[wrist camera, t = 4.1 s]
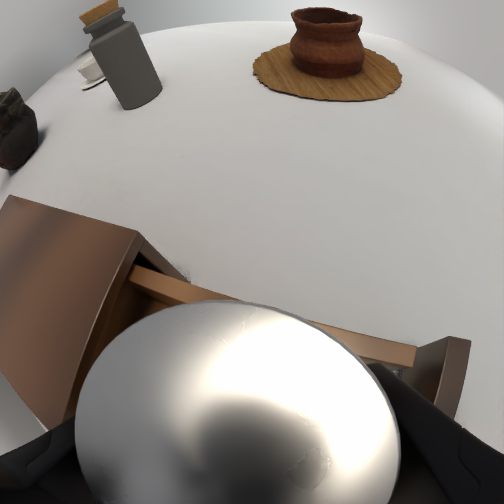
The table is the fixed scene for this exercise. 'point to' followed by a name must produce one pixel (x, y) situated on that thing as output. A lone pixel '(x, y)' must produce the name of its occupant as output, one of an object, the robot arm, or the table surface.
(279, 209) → the table surface
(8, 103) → the coffee grinder
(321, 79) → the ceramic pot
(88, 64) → the teacup
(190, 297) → the drawer
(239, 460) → the green tea canister
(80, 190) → the table surface
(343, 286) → the table surface
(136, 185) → the table surface
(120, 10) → the bottle
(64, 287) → the cabinet
